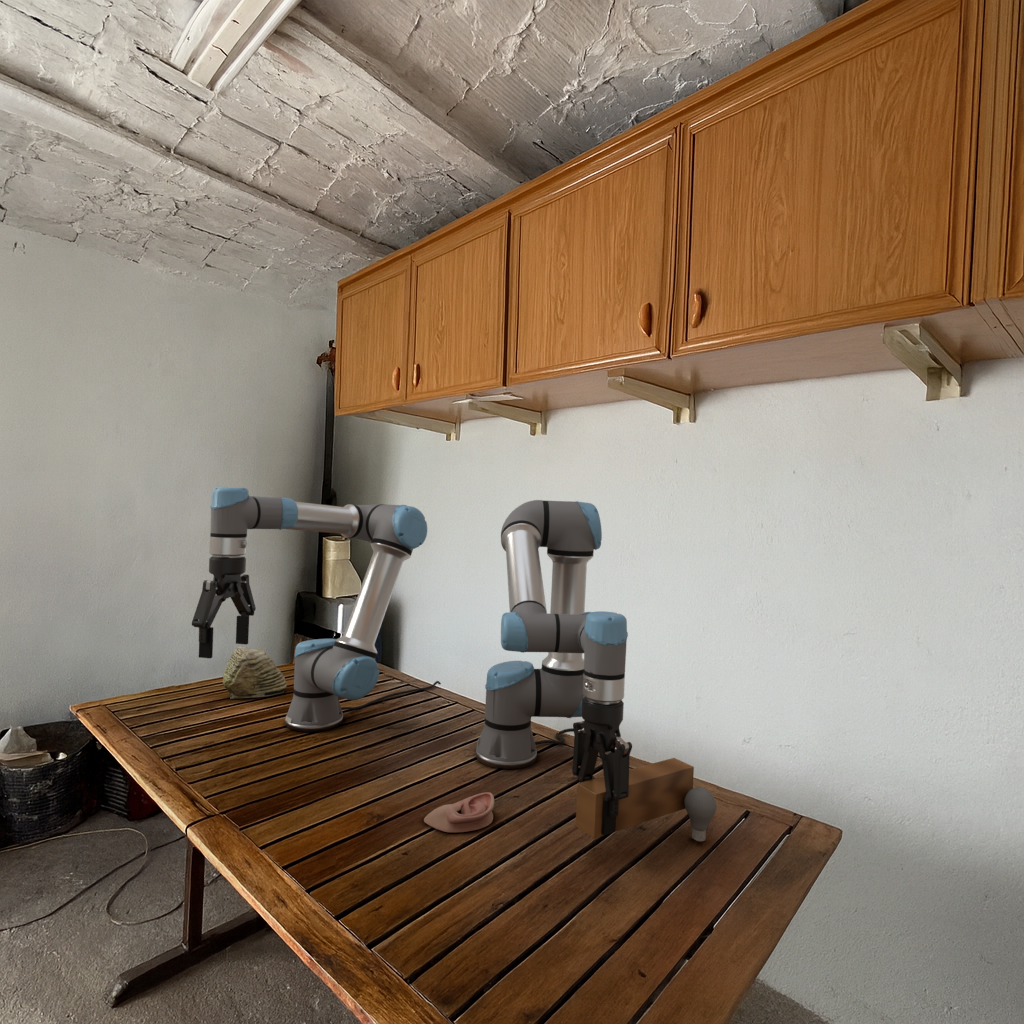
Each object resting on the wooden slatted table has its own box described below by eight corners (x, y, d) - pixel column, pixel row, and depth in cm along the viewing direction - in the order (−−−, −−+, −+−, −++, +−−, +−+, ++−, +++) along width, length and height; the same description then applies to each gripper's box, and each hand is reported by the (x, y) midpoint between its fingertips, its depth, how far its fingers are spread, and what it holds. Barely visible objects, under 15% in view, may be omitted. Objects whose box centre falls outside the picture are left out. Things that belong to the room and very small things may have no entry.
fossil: (218, 695, 195) (220, 647, 195) (278, 685, 208) (279, 640, 207) (228, 703, 189) (230, 653, 188) (289, 692, 201) (290, 645, 201)
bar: (672, 795, 130) (674, 757, 130) (692, 806, 126) (694, 766, 126) (575, 826, 116) (577, 783, 116) (594, 839, 112) (596, 794, 112)
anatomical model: (419, 808, 122) (437, 782, 134) (418, 828, 122) (437, 801, 134) (485, 817, 120) (499, 791, 131) (484, 838, 120) (498, 810, 131)
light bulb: (678, 831, 125) (680, 781, 125) (707, 831, 126) (709, 782, 126) (689, 848, 119) (691, 796, 119) (719, 848, 120) (722, 796, 120)
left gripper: (208, 561, 129) (204, 665, 129) (272, 552, 153) (269, 639, 154) (174, 559, 130) (171, 662, 130) (244, 550, 154) (241, 637, 155)
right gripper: (556, 687, 121) (550, 809, 121) (622, 716, 106) (616, 855, 106) (586, 683, 125) (580, 800, 125) (654, 709, 110) (648, 843, 110)
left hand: (224, 650), depth 142 cm, fingers open, 13 cm apart
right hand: (597, 825), depth 115 cm, fingers closed on bar, 5 cm apart
